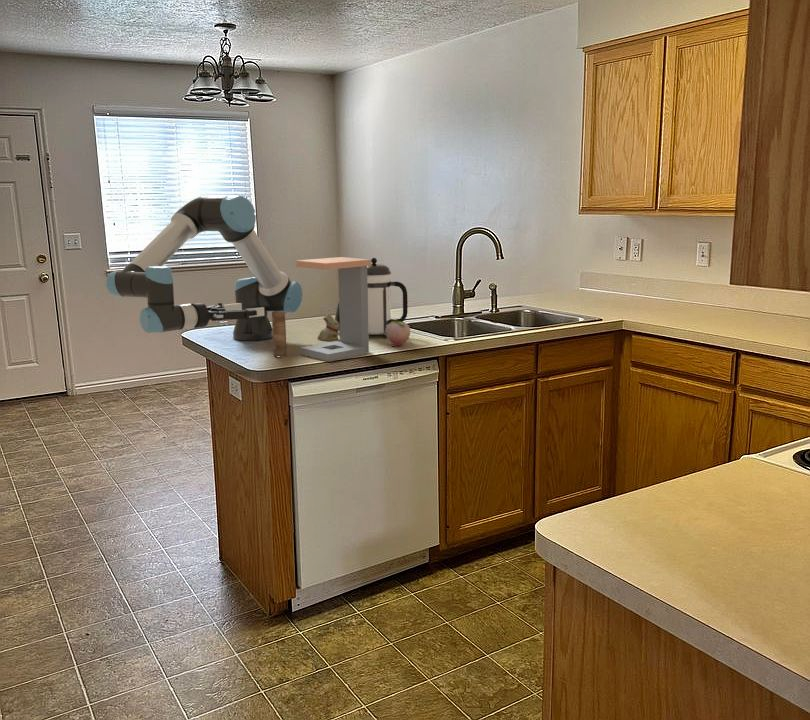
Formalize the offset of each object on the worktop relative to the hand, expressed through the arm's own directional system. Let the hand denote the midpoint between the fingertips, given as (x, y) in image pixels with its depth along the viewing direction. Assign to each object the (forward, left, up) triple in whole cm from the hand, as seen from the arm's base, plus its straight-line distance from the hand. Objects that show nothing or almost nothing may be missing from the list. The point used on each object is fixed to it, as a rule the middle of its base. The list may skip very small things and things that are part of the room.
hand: (252, 309), depth 242 cm
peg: (0, +10, -17) cm, 20 cm away
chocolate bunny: (-12, +40, -17) cm, 45 cm away
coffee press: (-4, +58, -17) cm, 61 cm away
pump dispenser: (-18, +54, -17) cm, 60 cm away
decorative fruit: (+16, +50, -17) cm, 55 cm away
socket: (+11, +26, -17) cm, 33 cm away
